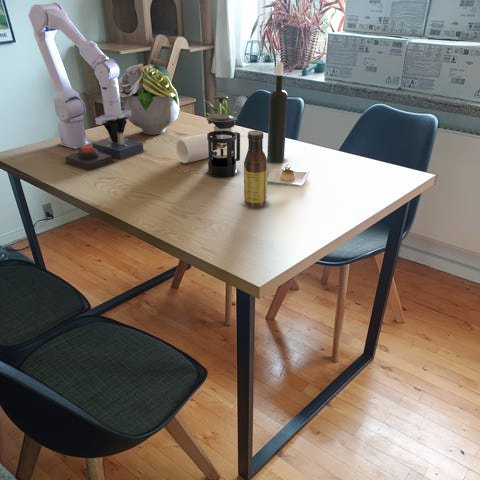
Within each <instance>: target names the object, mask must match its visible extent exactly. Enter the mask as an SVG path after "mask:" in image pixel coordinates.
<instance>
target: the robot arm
mask: <svg viewBox="0 0 480 480" xmlns="http://www.w3.org/2000/svg"><path fill="white" fill-rule="evenodd" d="M28 19H29V21H30V23H31V27H32V29H33V36H34V39H35V42H36V43H37V47H38V49H39V52H40V55H41V56H42V59H43V62H44V65H45V67H46V70H47V72H48V75H49V77H50V80H51V83H52V85H53V88H54V91H55V95H54V97H53V100H52V101H53V104H54V112H55V114H56V116H57V118H58V119H59V121H58V123H57V129H58V133H59V140H60V142H59V145H60V146H64V147H66V148H71V149H73V150H77V149H78V150H79V149H81V147H82V146H84V145H91V146H92V145H93V144H92V143H93V142H91V141H87V134H86V129H85V123H84V118H85V114H86V111H87V108H86V104H85V102H84V101H83V99H82V98H81V96H80V94H79V92H78V91H76V90H74V89H73V88H72V86H71V83H70V80H69V77H68V75H67V72H66V69H65V67H64V64H63V61H62V58H61V55H60V53H59V50H58V48H57V45H56V42H55V39H54V38H55V35H56V33H57V32H58V31H60V32H62V34H63V35H64V36H65V37H67V38H68V39H69V40H70V41H71V42H72V43H73V44H74V45H75V46H76V47H77V48H78V50H79V55H80V56H81V57H82V58H83V59H84V60H85V62H86V63H87V64H88V65H89V66H90V67H91V68H92V69H93V70H94V71H93V73H94V75H95V77H96V79H97V80H98V84H99V85H98V86H100V92H101V97H102V105H103V111H104V114H102V115H100V116H98V117H95V119H94V120H95V124H96V125H98V126H103V127H104V128H105V129H106V131H107V133H108V135H110V136H109V138H110V137H111V140H112V142H114V143H117V142H118V138H117V132H123V133H124V132H125V127H126V125H127V119H126V118H127V117H128V116H129V117H130V116H131V110H124V109H121V103H120V95H119V88H118V80H119V79H118V78H119V77H120V74H121V69H120V66H119V64H118V62H117V61H116V59H113V58H109V57H108V56H107V55H106V54H105V53H104V52H103V51H102V50H101V49H100V48H99V47H98V44H97V43H96V42H93V40H87V39H86V37H84V35H83V34H82V33H81V32H80V31H79V30H78V28H77V27H76V26H75V24H74V23H73V21H71V20H70V18H69V17H68V13H67V11H66V10H65V9H64V8H63V7H62V5H61V4H59V3H57V2H51V3H42V4H37V3H36V4H33V5H32V6H31V7H30V10H29V12H28Z"/></svg>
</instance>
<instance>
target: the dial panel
mask: <svg viewBox="0 0 480 480" xmlns="http://www.w3.org/2000/svg"><path fill="white" fill-rule="evenodd" d="M124 141H125V144H122V145H120V144H116V143H112V142H110V137H108V138H104V139H102V140H99V141H95V142H92V144H91V145H92V147H93V148H96V149H97V150H98V152H100V153H104V154H107V155H111V156H112V158H113V159H114V158H115V159H119V160H123V159H125V158H128V157H131V156H134V155H138V154H140V153H143V152H145V150H144V143H143V142H141V141H136V140H132V139H130V138H125V137H124Z"/></svg>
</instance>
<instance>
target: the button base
mask: <svg viewBox="0 0 480 480" xmlns="http://www.w3.org/2000/svg"><path fill="white" fill-rule="evenodd" d="M64 158H65V163H66V164H69V165H72V166H75V167H78V168H82V169H85V170H88V171H91V170H95V169H96V168H97V169H98V168H100V167H103V166H106V165H108V164H111V163H113V162H114V161H113V157H112V156H111V155H107V154H104V153H100V152H98V150H97V149H96V148H93V152H89V153H83V152H82V149H81V148H78V150H76V152H74V153H72V154H68V155H66V156H64Z"/></svg>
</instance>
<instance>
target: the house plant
mask: <svg viewBox="0 0 480 480" xmlns="http://www.w3.org/2000/svg"><path fill="white" fill-rule="evenodd" d="M203 101H204V102H206V103H207V104H208V105H209V108H210V109H212V110H213V111H214V113H213V114H209V113H208V112H206V114H207V116H206V117H205V119H207V117H208V116H211V115H217V114H221V105H220V102H219V99H216V101H217V106H218V109H217V108H216V107H214V105H213V104H212V103H211V102H209V101H207V100H203ZM236 103H237V102H235V103H234V104H233V106H232V107H231V109H230V110H229V112H228V101H227V100H226V99H223V103H222V114H226V115H233V114H235V113H237V112H236V111H233V110H234V109H235V107H236V105H237V104H236ZM218 110H219V111H218ZM232 111H233V112H232ZM219 130H221V129H219V128H218V127H216V126H215V125H214V124H213V131H219ZM222 130H224V131H231V132H233V127H232V128H227V129H222ZM231 137H232V136H230V135H222V139H225V138H231ZM217 138H218V139H221V135H217ZM217 145H220V146H221V143H217ZM222 146H227V143H222Z"/></svg>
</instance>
